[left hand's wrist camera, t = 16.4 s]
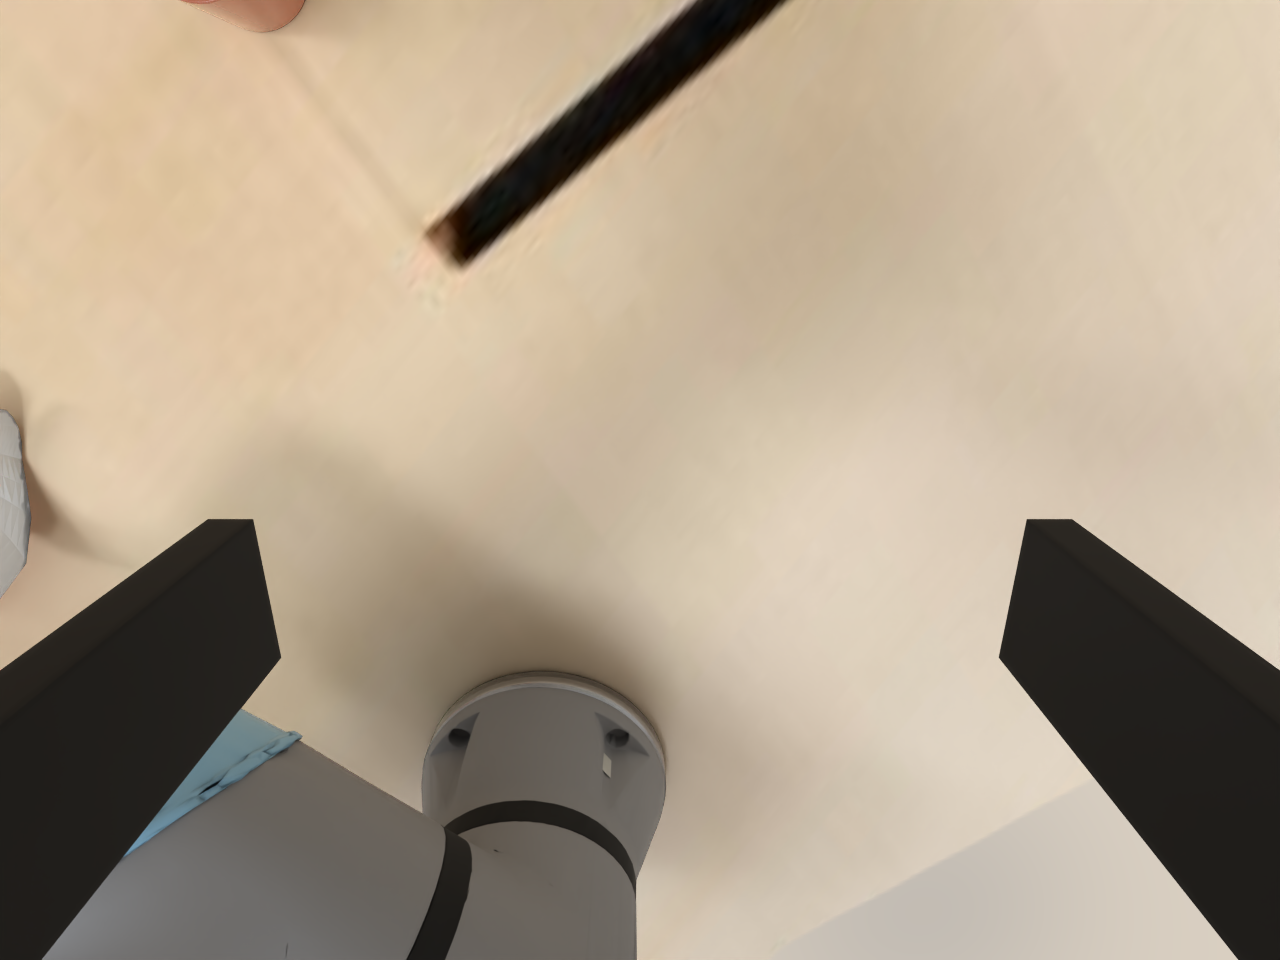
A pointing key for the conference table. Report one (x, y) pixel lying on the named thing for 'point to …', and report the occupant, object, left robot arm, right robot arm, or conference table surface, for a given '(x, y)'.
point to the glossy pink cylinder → (251, 12)
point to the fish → (12, 503)
